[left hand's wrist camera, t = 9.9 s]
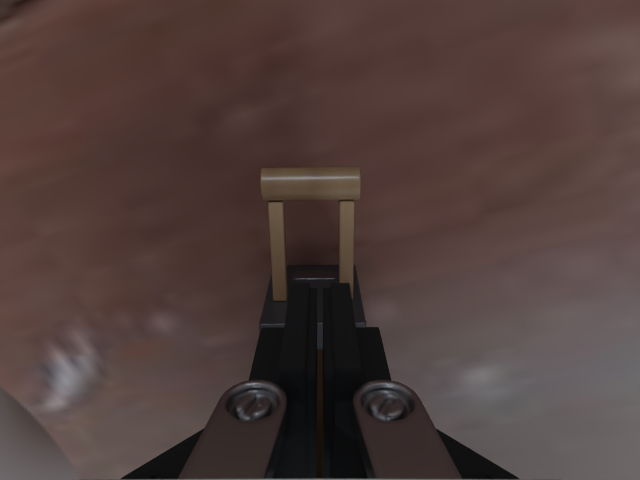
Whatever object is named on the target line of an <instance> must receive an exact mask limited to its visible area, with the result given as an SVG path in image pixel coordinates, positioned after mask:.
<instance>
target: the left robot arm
mask: <svg viewBox="0 0 640 480" xmlns="http://www.w3.org/2000/svg"><path fill="white" fill-rule="evenodd" d="M316 450H317V288H310V283H290V290H289V297H288V304H287V311H286V318H285V325H284V327H262V328H261V331H260V335H259V339H258V343H257V348H256V352H255V356H254V360H253V365H252V369H251V373H250V377H249V381H245V382H241V383H239V384H237V385H234V386H232V387H231V388H230V389H228V390H227V391H226V392H225V393H224V394H223V396H222V397H221V398H220V400H219V402H218V404H217V406H216V408H215V409H214V411H213V413H212V415H211V417H210V419H209V421H208V423H207V424H206V426H205V428H204V429H202V430H201V431H199V432H197V433H196V434H194V435H192V436H191V437H189V438H187V439H186V440H184V441H182V442H181V443H179V444H177V445H176V446H174V447H172V448H171V449H169V450H167V451H166V452H164V453H162V454H161V455H159V456H157V457H156V458H154V459H152V460H151V461H149V462H147V463H146V464H144V465H142V466H141V467H139V468H137V469H136V470H134V471H132V472H131V473H129V474H127V475H126V476H124V477H123V478H121V479H81V480H559V479H519V478H517V477H516V476H514V475H513V474H511V473H509V472H508V471H506V470H504V469H503V468H501V467H499V466H498V465H496V464H494V463H493V462H491V461H489V460H488V459H486V458H484V457H483V456H481V455H479V454H478V453H476V452H474V451H473V450H471V449H469V448H468V447H466V446H464V445H463V444H461V443H459V442H458V441H456V440H454V439H453V438H451V437H449V436H448V435H446V434H444V433H443V432H441V431H439V430H438V429H436V428H435V426H434V424H433V423H432V421H431V419H430V417H429V415H428V413H427V411H426V409H425V408H424V406H423V404H422V402H421V400H420V398H419V397H418V396H417V394H416V393H415V392H414V391H413V390H412V389H410V388H409V387H408V386H406V385H403V384H401V383H399V382H395V381H391V377H390V373H389V369H388V365H387V360H386V356H385V352H384V348H383V343H382V339H381V335H380V331H379V328H378V327H356V325H355V318H354V311H353V304H352V297H351V290H350V283H330V288H323V450H324V479H316Z"/></svg>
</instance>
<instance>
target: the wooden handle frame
mask: <svg viewBox="0 0 640 480" xmlns="http://www.w3.org/2000/svg"><path fill="white" fill-rule="evenodd" d="M260 188H261V197H262V200H263V201H269V202H268V216H269V233H270V251H271V269H272V275H271V279H270V283H269V287H268V291H267V295H266V299H265V303H264V307H263V311H262V316H261V320H260V324H259V329H260V331H261V328H262V327H284V325H285V318H286V311H287V304H288V297H289V290H290V283H310V288H317V450H316V479H324V450H323V288H330V283H350V290H351V297H352V304H353V311H354V318H355V325H356V327H366V321H365V316H364V310H363V305H362V300H361V295H360V289H359V284H358V279H357V273H356V268H355V265H354V200H358V199H360V193H361V174H360V168H359V167H294V168H262V169H261V175H260ZM291 200H339V265H288V266H287V259H286V236H285V212H284V201H291Z"/></svg>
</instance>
